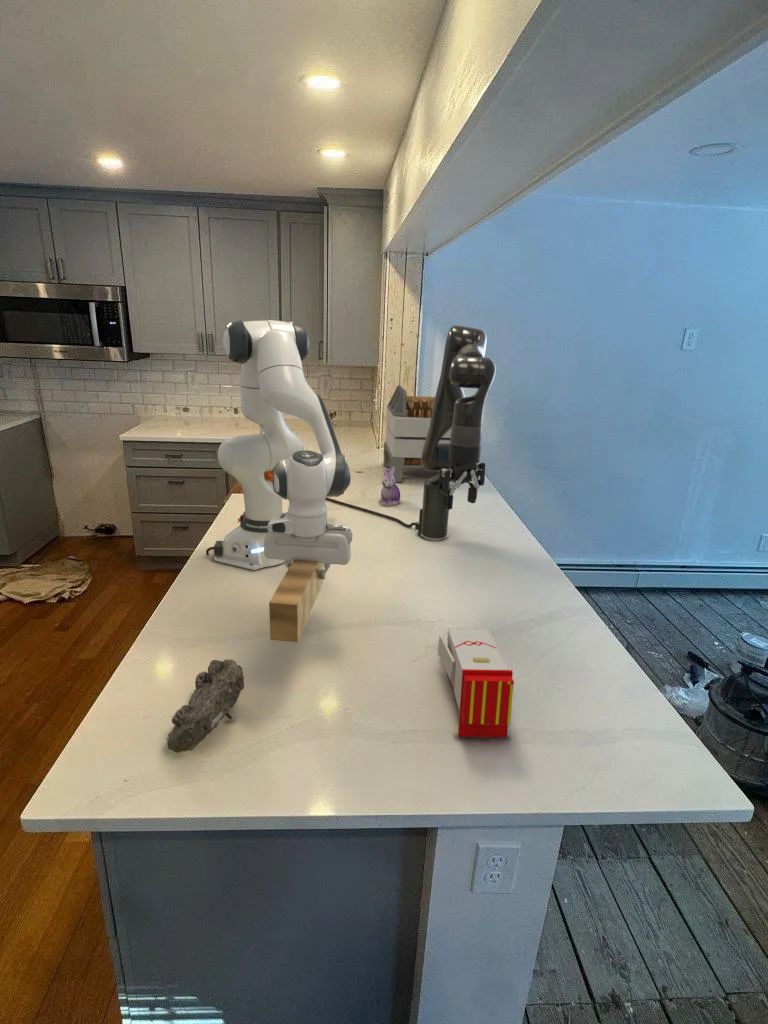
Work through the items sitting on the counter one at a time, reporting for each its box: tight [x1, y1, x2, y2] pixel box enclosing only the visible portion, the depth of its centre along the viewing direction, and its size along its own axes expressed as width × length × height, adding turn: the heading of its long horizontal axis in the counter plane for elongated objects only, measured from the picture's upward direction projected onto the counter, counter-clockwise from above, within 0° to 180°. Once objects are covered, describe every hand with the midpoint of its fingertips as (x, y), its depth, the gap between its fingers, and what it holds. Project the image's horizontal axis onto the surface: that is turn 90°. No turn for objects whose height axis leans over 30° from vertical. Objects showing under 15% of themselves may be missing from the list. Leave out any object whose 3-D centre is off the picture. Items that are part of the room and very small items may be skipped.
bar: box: [268, 559, 324, 643], centre depth 125 cm, size 26×6×9 cm, turn 175°
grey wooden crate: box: [383, 384, 455, 483], centre depth 268 cm, size 34×33×41 cm
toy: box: [437, 628, 515, 738], centre depth 117 cm, size 12×13×30 cm
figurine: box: [379, 466, 401, 507], centre depth 228 cm, size 9×10×15 cm
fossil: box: [166, 658, 245, 754], centre depth 106 cm, size 22×10×15 cm
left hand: (307, 577), depth 134 cm, fingers closed on bar, 5 cm apart
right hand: (459, 505), depth 142 cm, fingers open, 8 cm apart
